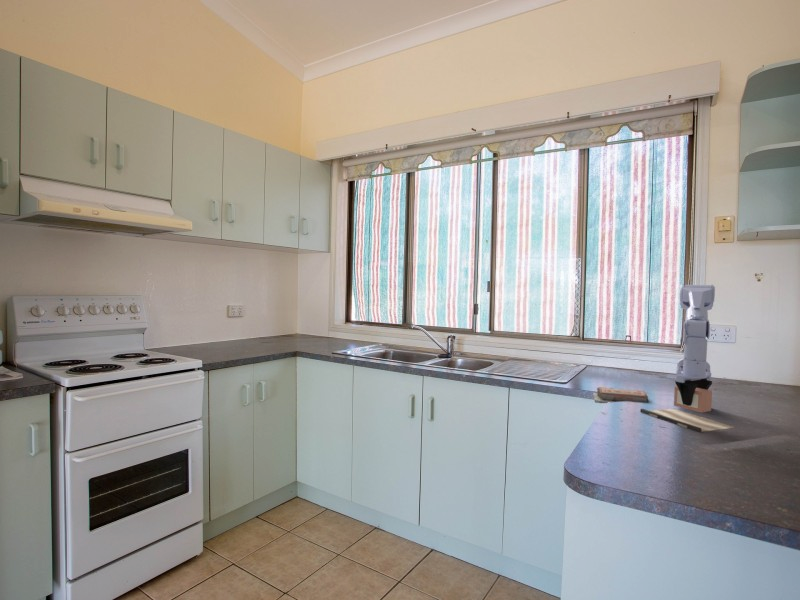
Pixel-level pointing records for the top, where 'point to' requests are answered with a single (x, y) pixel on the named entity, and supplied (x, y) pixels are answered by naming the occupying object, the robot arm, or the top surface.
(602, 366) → the top surface
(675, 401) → the carton
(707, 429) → the shelf board
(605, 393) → the packaged product
